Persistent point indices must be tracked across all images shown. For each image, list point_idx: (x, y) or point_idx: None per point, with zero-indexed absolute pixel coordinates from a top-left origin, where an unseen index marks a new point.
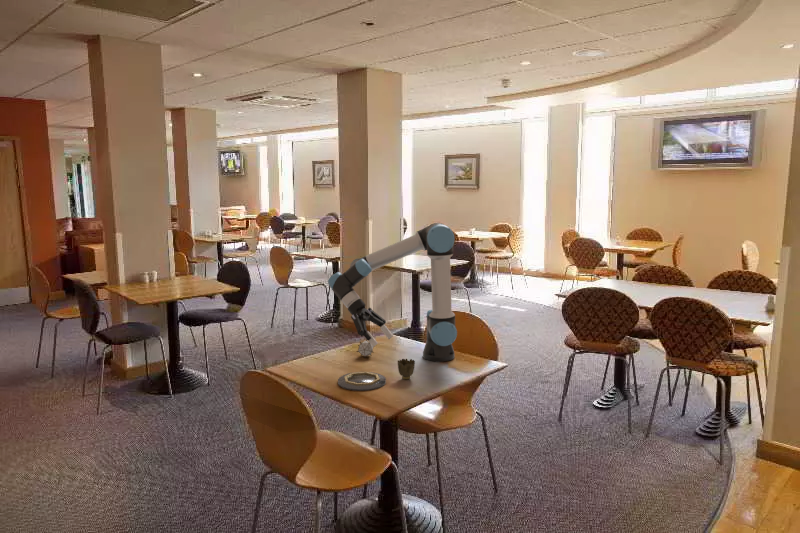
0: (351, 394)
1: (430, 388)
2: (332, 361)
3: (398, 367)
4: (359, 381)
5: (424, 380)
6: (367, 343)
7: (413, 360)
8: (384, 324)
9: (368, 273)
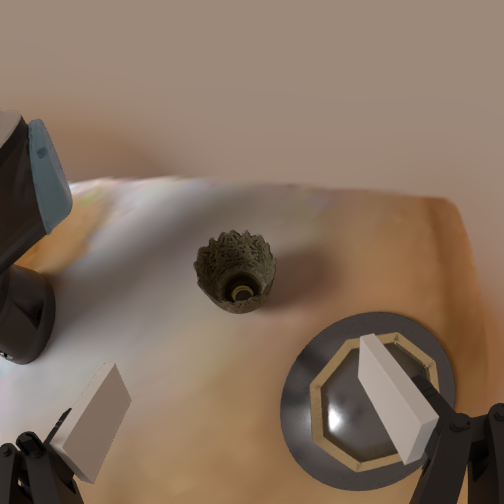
0: (462, 339)
1: (270, 200)
2: None
3: (267, 293)
4: None
5: None
6: None
7: (201, 250)
8: (53, 441)
9: None
